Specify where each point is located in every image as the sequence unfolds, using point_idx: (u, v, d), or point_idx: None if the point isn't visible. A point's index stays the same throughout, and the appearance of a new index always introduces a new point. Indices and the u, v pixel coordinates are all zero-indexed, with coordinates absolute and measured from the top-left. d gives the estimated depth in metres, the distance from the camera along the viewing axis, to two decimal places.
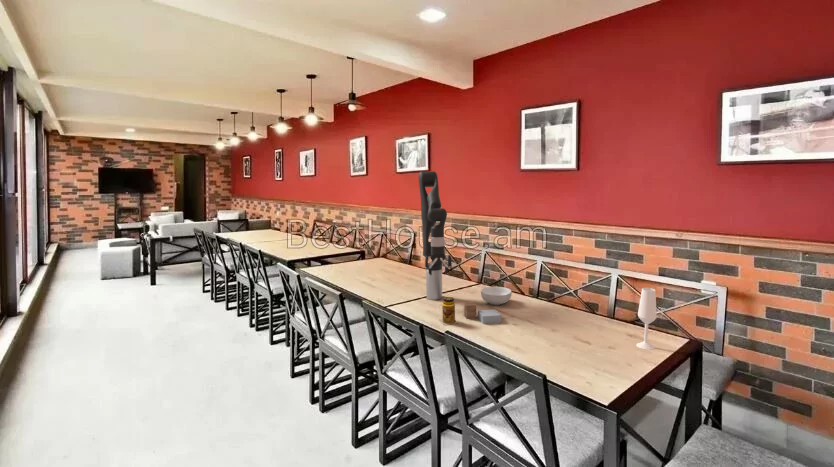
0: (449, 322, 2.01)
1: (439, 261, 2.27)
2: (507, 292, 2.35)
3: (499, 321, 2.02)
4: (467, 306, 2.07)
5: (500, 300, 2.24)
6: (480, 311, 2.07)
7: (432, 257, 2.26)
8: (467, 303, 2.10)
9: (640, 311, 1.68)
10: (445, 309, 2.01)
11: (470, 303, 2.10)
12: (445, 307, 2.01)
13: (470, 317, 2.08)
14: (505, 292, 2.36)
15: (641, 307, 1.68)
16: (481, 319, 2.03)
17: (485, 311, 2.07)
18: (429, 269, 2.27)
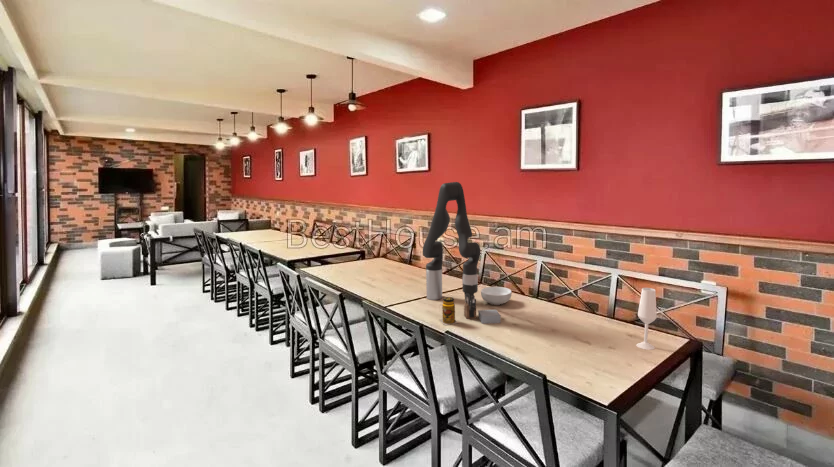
0: (449, 322, 2.01)
1: None
2: (507, 292, 2.35)
3: (498, 321, 2.01)
4: (467, 306, 2.07)
5: (500, 300, 2.24)
6: (480, 311, 2.08)
7: (473, 298, 2.06)
8: (467, 303, 2.10)
9: (640, 311, 1.68)
10: (445, 309, 2.01)
11: None
12: (445, 307, 2.01)
13: (470, 317, 2.08)
14: (505, 292, 2.36)
15: (641, 307, 1.68)
16: (480, 319, 2.03)
17: (486, 311, 2.07)
18: (473, 311, 2.07)
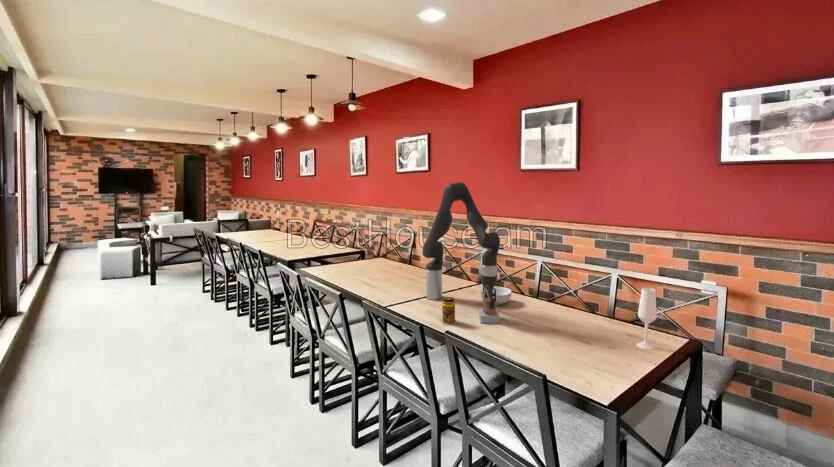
0: (449, 322, 2.01)
1: None
2: (507, 292, 2.35)
3: (497, 322, 2.01)
4: (487, 302, 2.02)
5: (500, 300, 2.24)
6: (481, 311, 2.08)
7: None
8: (486, 299, 2.05)
9: (640, 311, 1.68)
10: (445, 309, 2.01)
11: None
12: (445, 307, 2.01)
13: (490, 313, 2.03)
14: (505, 292, 2.36)
15: (641, 307, 1.68)
16: (480, 319, 2.04)
17: None
18: (493, 302, 1.99)
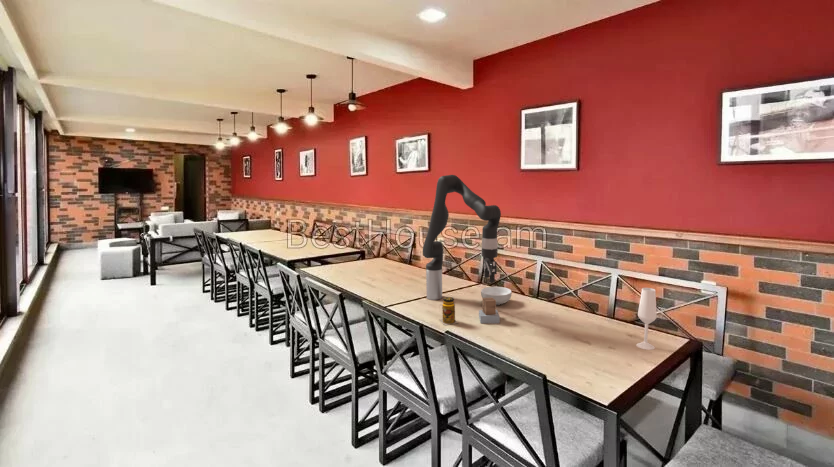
0: (449, 322, 2.01)
1: None
2: (507, 292, 2.35)
3: (497, 321, 2.01)
4: (486, 302, 2.01)
5: (500, 300, 2.24)
6: (481, 311, 2.08)
7: None
8: (486, 299, 2.04)
9: (640, 311, 1.68)
10: (445, 309, 2.01)
11: (488, 298, 2.04)
12: (445, 307, 2.01)
13: (489, 313, 2.02)
14: (505, 292, 2.36)
15: (641, 307, 1.68)
16: None
17: None
18: (494, 276, 1.98)
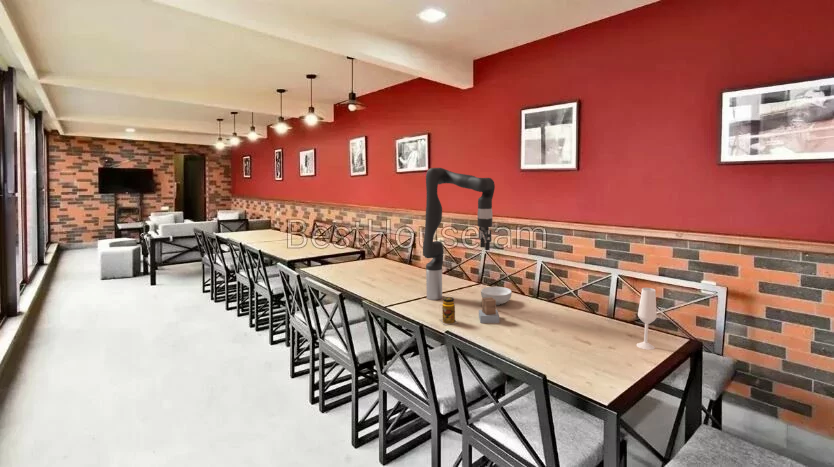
0: (449, 322, 2.01)
1: None
2: (507, 292, 2.35)
3: (497, 321, 2.01)
4: (487, 302, 2.01)
5: (500, 300, 2.24)
6: (480, 310, 2.08)
7: None
8: (486, 299, 2.04)
9: (640, 311, 1.68)
10: (445, 309, 2.01)
11: (488, 298, 2.04)
12: (445, 307, 2.01)
13: (490, 313, 2.02)
14: (505, 292, 2.36)
15: (641, 307, 1.68)
16: None
17: None
18: (489, 244, 2.10)
